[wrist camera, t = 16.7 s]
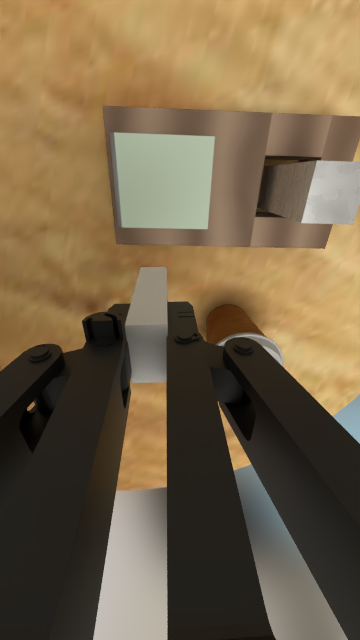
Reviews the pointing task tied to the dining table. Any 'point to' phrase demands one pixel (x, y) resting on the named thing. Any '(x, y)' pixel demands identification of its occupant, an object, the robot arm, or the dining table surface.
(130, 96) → the dining table surface
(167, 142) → the plate
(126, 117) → the walnut block
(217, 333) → the disposable coffee cup
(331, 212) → the steel pin
